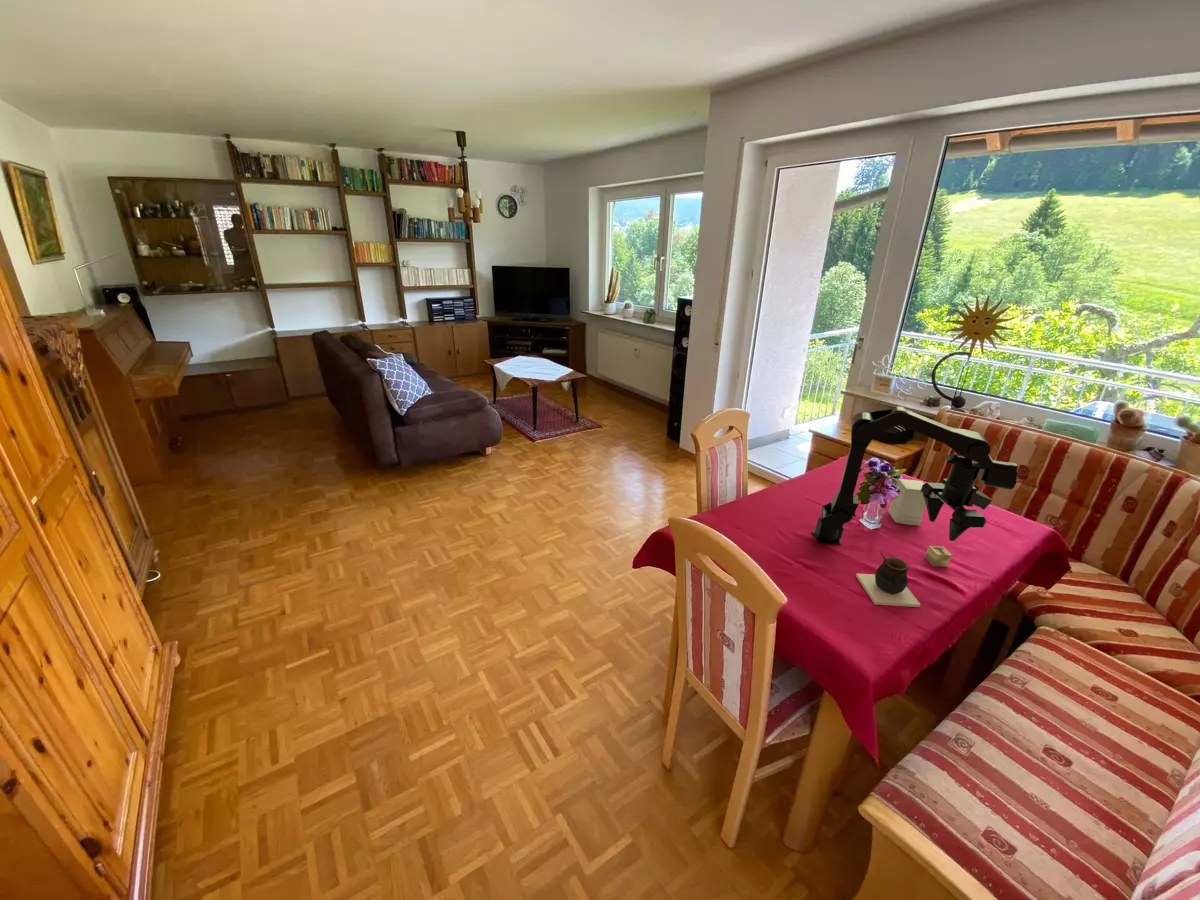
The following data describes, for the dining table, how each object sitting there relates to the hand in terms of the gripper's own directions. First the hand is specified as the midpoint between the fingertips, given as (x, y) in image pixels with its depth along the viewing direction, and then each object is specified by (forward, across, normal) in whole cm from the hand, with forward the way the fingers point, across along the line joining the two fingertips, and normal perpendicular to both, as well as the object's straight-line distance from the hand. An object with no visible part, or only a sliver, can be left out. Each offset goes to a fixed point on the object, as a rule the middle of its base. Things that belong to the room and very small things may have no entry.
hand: (941, 530), depth 134 cm
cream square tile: (+11, -13, +18) cm, 25 cm away
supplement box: (+11, +24, -5) cm, 27 cm away
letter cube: (+11, +1, -2) cm, 11 cm away
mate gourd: (+10, -13, +18) cm, 24 cm away
